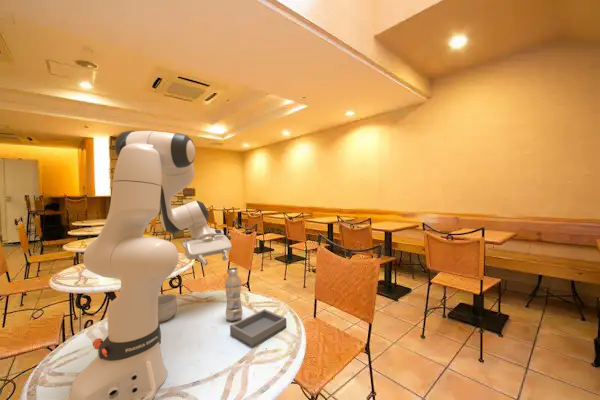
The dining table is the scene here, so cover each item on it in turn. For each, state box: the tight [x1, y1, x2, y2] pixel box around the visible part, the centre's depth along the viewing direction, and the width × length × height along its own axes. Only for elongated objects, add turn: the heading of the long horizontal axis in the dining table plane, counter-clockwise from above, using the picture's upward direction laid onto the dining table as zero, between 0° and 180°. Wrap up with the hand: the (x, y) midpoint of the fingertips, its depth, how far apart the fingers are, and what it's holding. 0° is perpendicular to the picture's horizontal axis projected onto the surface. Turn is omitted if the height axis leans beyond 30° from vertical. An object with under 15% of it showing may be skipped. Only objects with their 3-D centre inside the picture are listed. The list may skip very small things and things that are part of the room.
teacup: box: [158, 293, 178, 323], centre depth 104 cm, size 14×11×8 cm
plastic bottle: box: [224, 267, 243, 322], centre depth 101 cm, size 6×7×20 cm
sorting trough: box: [229, 309, 287, 349], centre depth 92 cm, size 16×12×4 cm
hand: (216, 262), depth 108 cm, fingers open, 8 cm apart
